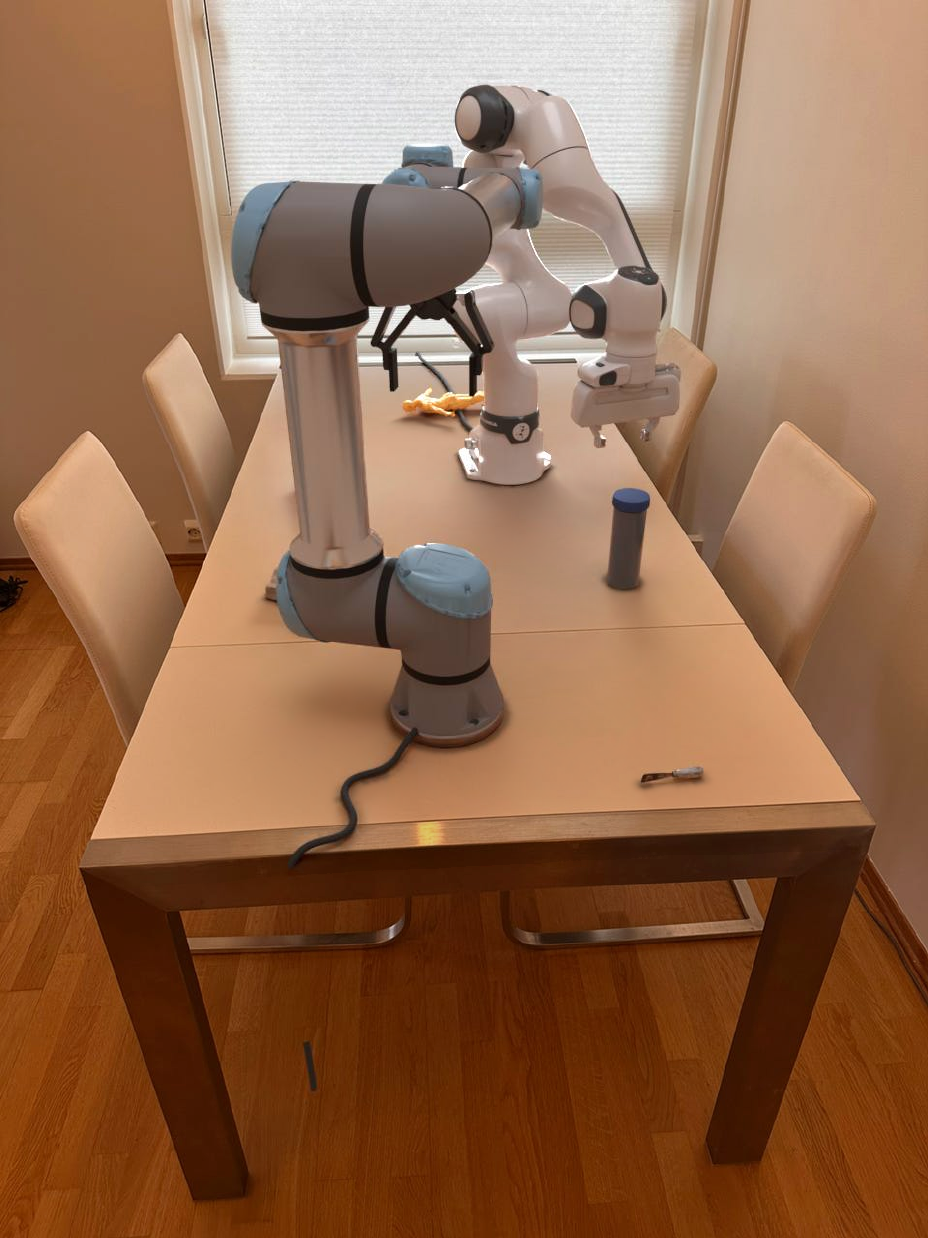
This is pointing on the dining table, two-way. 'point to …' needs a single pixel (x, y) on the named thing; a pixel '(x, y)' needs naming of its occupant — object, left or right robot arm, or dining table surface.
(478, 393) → the human figure
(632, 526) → the grey tall cylinder
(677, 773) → the putty knife
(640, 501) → the lid
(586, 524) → the dining table surface
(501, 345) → the right robot arm
